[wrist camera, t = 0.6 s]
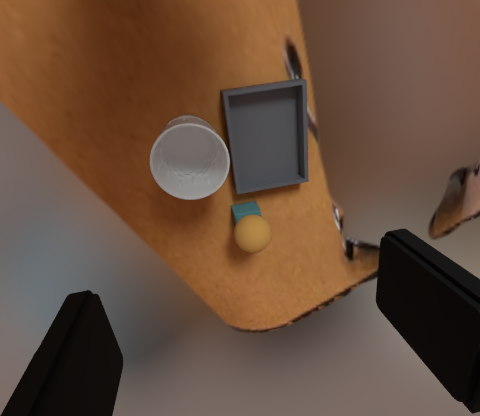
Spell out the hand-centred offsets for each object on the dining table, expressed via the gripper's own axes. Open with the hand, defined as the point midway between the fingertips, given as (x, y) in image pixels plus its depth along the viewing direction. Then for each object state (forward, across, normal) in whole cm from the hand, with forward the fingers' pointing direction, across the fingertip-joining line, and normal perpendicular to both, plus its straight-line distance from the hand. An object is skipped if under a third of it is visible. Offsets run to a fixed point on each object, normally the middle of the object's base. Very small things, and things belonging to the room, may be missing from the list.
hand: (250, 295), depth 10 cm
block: (+32, -4, +12) cm, 35 cm away
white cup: (+32, +2, +1) cm, 32 cm away
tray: (+32, -8, +2) cm, 33 cm away
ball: (+27, -4, +13) cm, 30 cm away
